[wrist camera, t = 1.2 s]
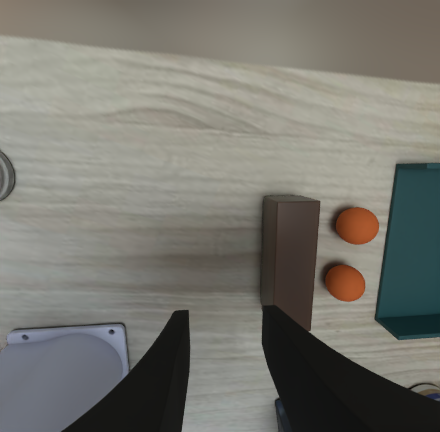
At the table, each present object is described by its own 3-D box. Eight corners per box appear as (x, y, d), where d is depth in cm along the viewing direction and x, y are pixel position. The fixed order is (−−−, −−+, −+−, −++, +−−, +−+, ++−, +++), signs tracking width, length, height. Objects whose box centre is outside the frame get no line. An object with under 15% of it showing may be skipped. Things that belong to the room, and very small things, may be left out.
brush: (259, 303, 21) (272, 334, 17) (261, 194, 19) (277, 201, 15) (290, 302, 22) (310, 331, 18) (297, 194, 20) (321, 200, 16)
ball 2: (317, 290, 22) (336, 310, 19) (320, 260, 21) (339, 275, 18) (348, 289, 22) (371, 308, 19) (352, 258, 21) (376, 273, 18)
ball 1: (327, 238, 21) (348, 250, 18) (330, 205, 20) (352, 211, 17) (359, 237, 21) (385, 248, 18) (363, 204, 20) (391, 210, 17)
